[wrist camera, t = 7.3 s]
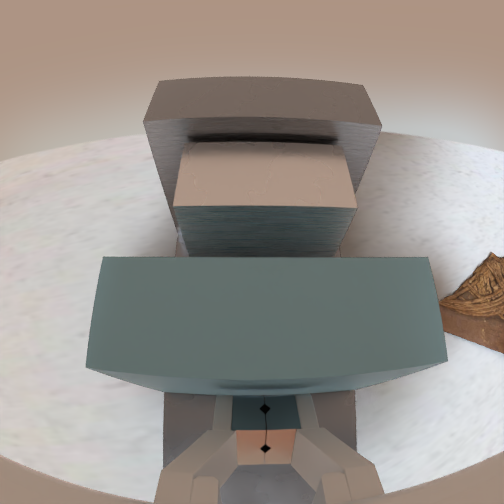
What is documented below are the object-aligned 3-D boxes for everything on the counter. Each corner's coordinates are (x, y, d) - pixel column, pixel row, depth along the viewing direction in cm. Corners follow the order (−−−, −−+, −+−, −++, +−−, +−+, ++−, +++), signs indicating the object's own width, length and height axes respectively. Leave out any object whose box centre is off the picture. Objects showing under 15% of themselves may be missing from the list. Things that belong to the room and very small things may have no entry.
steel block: (317, 288, 16) (357, 207, 10) (200, 288, 16) (172, 206, 10) (312, 238, 18) (342, 145, 11) (203, 238, 18) (184, 143, 11)
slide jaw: (356, 389, 13) (448, 360, 7) (162, 391, 13) (85, 367, 7) (351, 329, 15) (428, 257, 8) (166, 330, 15) (103, 256, 8)
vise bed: (340, 567, 10) (411, 655, 1) (177, 571, 10) (123, 668, 1) (322, 200, 21) (357, 74, 13) (190, 199, 21) (163, 70, 13)
